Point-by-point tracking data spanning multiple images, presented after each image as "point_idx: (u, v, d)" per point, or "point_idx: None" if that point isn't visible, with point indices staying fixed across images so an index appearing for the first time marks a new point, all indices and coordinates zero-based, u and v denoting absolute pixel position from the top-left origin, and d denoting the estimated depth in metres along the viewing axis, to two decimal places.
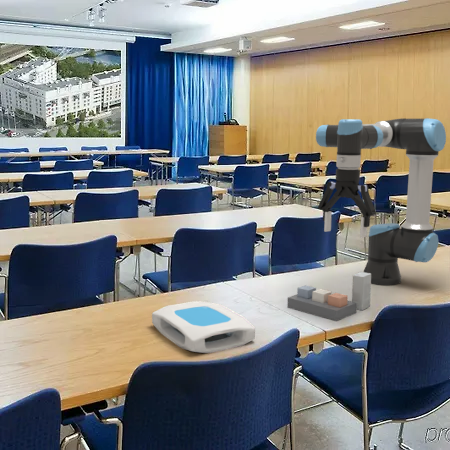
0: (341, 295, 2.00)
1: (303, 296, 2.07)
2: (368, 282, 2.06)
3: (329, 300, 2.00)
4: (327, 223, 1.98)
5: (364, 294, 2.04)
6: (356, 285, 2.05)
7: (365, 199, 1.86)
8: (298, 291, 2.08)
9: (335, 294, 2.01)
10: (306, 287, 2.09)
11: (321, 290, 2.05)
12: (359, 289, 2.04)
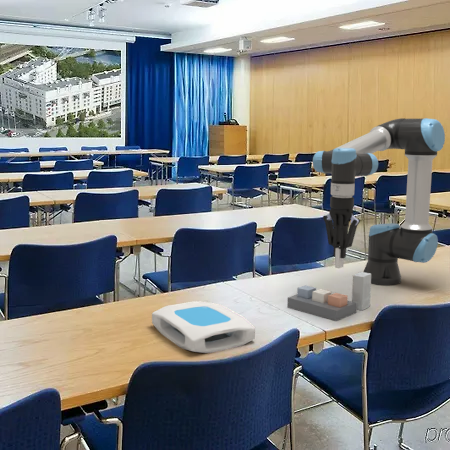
0: (341, 295, 2.00)
1: (303, 296, 2.07)
2: (368, 282, 2.06)
3: (329, 300, 2.00)
4: None
5: (364, 294, 2.04)
6: (356, 285, 2.05)
7: (350, 232, 1.92)
8: (298, 291, 2.08)
9: (335, 294, 2.01)
10: (306, 287, 2.09)
11: (321, 290, 2.05)
12: (360, 289, 2.04)
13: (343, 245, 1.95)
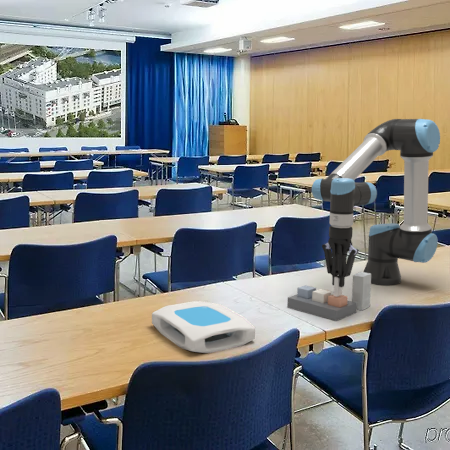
0: (341, 296, 2.00)
1: (303, 296, 2.07)
2: (368, 282, 2.06)
3: (329, 301, 2.00)
4: None
5: (364, 294, 2.04)
6: (356, 285, 2.05)
7: (348, 262, 1.94)
8: (298, 291, 2.08)
9: None
10: (306, 287, 2.09)
11: (321, 290, 2.05)
12: (359, 289, 2.04)
13: (342, 274, 1.96)
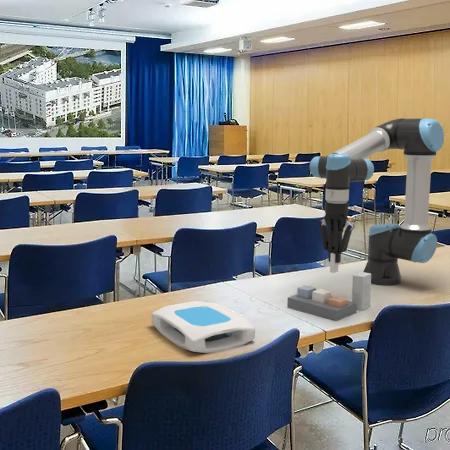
0: (341, 298, 2.00)
1: (303, 296, 2.07)
2: (368, 282, 2.06)
3: (329, 303, 2.00)
4: None
5: (364, 294, 2.04)
6: (356, 285, 2.05)
7: (345, 237, 1.94)
8: (298, 291, 2.08)
9: (335, 297, 2.01)
10: (306, 287, 2.09)
11: (321, 290, 2.05)
12: (359, 289, 2.04)
13: (338, 250, 1.96)
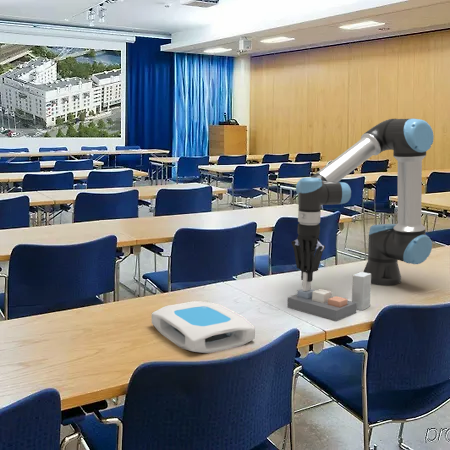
0: (341, 298, 2.00)
1: None
2: (368, 282, 2.06)
3: (329, 303, 2.00)
4: None
5: (364, 294, 2.04)
6: (356, 285, 2.05)
7: (316, 258, 2.03)
8: (298, 294, 2.08)
9: (335, 297, 2.01)
10: None
11: (321, 290, 2.05)
12: (360, 289, 2.04)
13: (310, 269, 2.05)
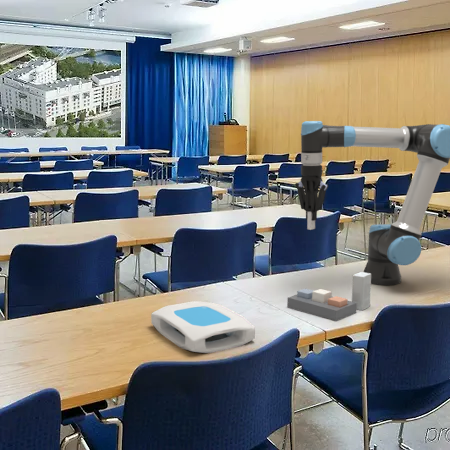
0: (341, 298, 2.00)
1: None
2: (368, 282, 2.06)
3: (329, 303, 2.00)
4: None
5: (364, 294, 2.04)
6: (356, 285, 2.05)
7: (319, 196, 2.14)
8: (298, 294, 2.08)
9: (335, 297, 2.01)
10: (306, 290, 2.09)
11: (321, 290, 2.05)
12: (360, 289, 2.04)
13: (314, 208, 2.17)
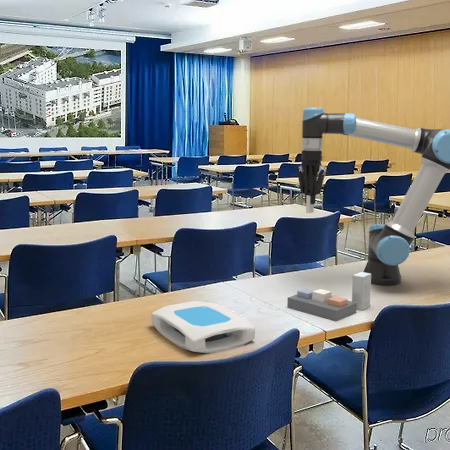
0: (341, 298, 2.00)
1: None
2: (368, 282, 2.06)
3: (329, 303, 2.00)
4: None
5: (364, 294, 2.04)
6: (356, 285, 2.05)
7: (318, 181, 2.21)
8: (298, 294, 2.08)
9: (335, 297, 2.01)
10: (306, 290, 2.09)
11: (321, 290, 2.05)
12: (360, 289, 2.04)
13: (313, 192, 2.24)
